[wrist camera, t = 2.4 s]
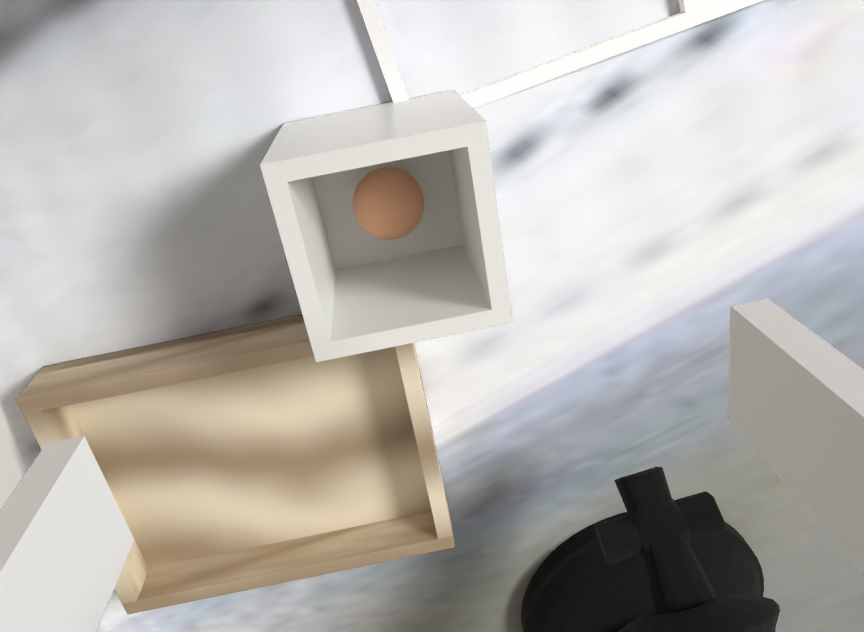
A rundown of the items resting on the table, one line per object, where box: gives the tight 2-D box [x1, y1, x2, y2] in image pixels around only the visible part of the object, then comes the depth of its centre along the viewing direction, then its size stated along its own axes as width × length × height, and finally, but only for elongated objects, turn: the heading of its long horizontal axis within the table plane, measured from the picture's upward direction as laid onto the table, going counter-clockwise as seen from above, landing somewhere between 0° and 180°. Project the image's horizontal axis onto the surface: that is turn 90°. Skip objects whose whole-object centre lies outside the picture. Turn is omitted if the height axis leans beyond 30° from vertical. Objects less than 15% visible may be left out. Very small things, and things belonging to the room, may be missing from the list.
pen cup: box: [260, 90, 513, 362], centre depth 27 cm, size 7×7×8 cm
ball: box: [353, 167, 424, 240], centre depth 29 cm, size 3×3×3 cm
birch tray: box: [15, 315, 455, 614], centre depth 35 cm, size 14×18×3 cm
